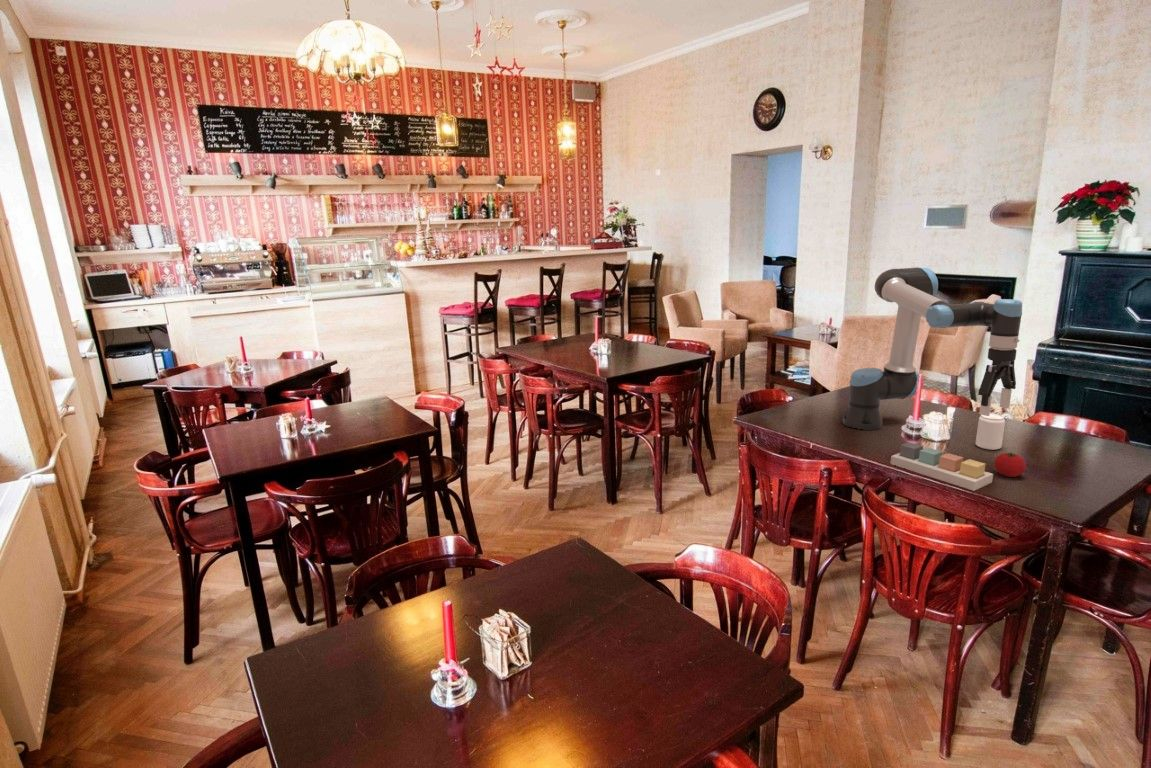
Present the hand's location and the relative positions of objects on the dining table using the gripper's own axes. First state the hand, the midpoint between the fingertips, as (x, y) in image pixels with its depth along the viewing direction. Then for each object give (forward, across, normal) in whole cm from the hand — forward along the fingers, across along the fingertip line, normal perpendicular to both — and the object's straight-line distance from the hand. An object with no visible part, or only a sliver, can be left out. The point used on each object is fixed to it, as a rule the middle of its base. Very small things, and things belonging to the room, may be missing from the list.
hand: (994, 411), depth 207 cm
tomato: (+21, +2, -6) cm, 22 cm away
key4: (+19, -14, -1) cm, 23 cm away
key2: (+19, -13, +12) cm, 26 cm away
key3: (+19, -14, +5) cm, 24 cm away
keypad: (+21, -13, +9) cm, 26 cm away
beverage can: (+21, +25, +11) cm, 34 cm away
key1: (+18, -13, +19) cm, 30 cm away
